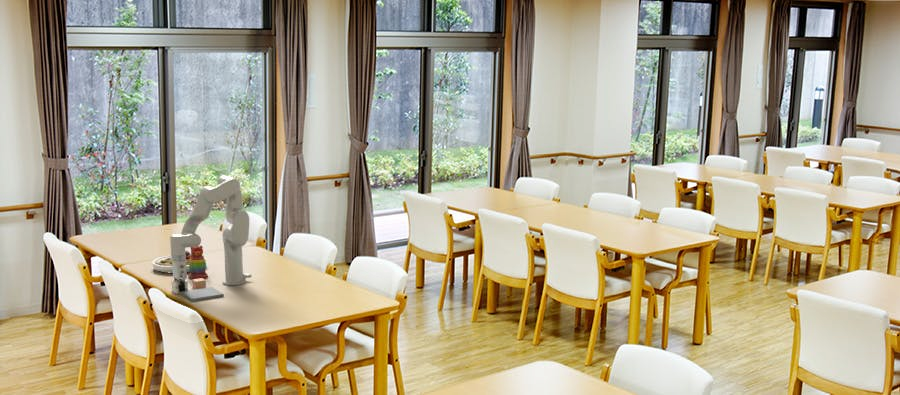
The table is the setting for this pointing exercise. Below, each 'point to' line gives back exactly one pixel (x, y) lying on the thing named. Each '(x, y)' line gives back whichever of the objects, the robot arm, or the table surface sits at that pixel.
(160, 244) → the table surface
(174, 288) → the cream block
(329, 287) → the table surface
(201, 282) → the terracotta block
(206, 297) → the base board
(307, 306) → the table surface
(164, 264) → the bowl
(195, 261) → the stacking bear
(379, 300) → the table surface
